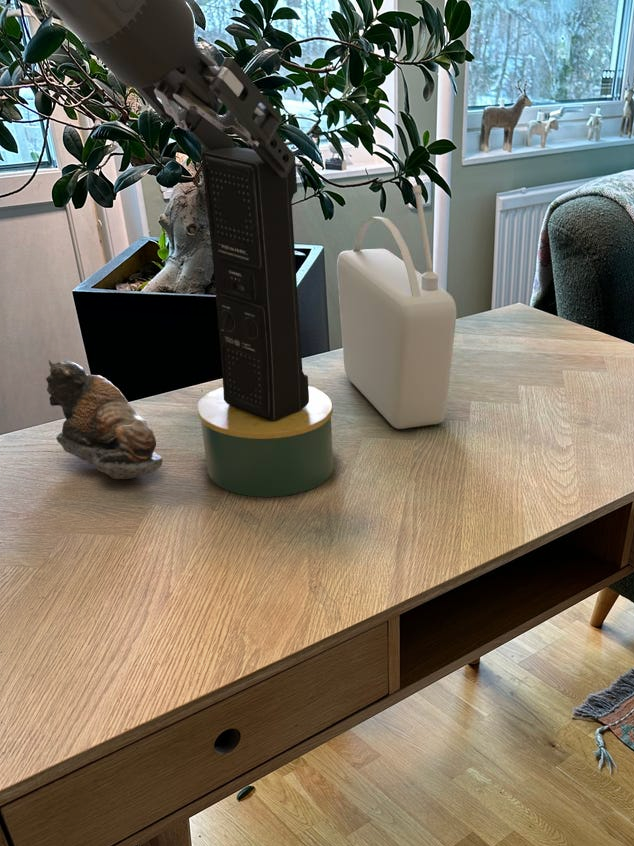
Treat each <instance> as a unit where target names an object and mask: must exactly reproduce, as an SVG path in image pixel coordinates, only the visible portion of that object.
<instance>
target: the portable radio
mask: <svg viewBox="0 0 634 846" xmlns="http://www.w3.org/2000/svg"><path fill="white" fill-rule="evenodd" d="M201 164H202V172H203V182H204V190H205V192H204V193H205V200H206V209H207V210H206V211H207V219H208V220H207V221H208V229H209V238H210V239H209V240H210V246H211V257H212V265H213V275H214V286H215V303H216V314H217V315H216V316H217V326H218V336H219V347H220V348H219V349H220V359H221V371H222V387H223V394H224V401H225V402H226V403H227V404H228V405H231V406H234V407H236V408H239V409H241V410H244V411H246V412H249V413H251V414H254V415H257V416H259V417H262V418H264V419H267V420H269V421H276V420H278V419H281V418H283V417H285V416H288V415H290V414H292V413H295V412H297V411H299V410H301V409H302V408H304V407H305V406H306V405H307V404H308V403H309V388H308V386H309V376H308V375H306V374H305V373H304V371H303V358H302V357H303V356H302V346H301V328H300V314H299V313H300V310H299V297H298V295H299V294H298V280H297V279H298V278H297V265H296V249H295V234H294V233H295V232H294V231H295V230H294V216H293V205H292V203H293V202H292V201H293V198H294V196H295V194H296V193H298V179H297V162H296V161H295V163H294V165H293V166H292V168H291V170H290V171H289V173H288V175H287V176H286V177H285V178H281V177H278V176H276V175H275V174H274V173H273V172H272V171H271V169H270V168H269V167H268V166H267V165H266V164H265V163H264V161H263V160H262V159H261V158H260V157H259V156H258V154H257V153H256V152H255V151H254V150H253V149H252V148H247V147H246V148H245V147H232V148H224V149H216V150H208V151H207V150H202V151H201Z"/></svg>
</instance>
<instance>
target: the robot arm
mask: <svg viewBox="0 0 634 846" xmlns="http://www.w3.org/2000/svg"><path fill="white" fill-rule="evenodd" d="M44 1H45V3H46V4H47V5H48V6H49V7H50V9H51V10H52V11H53V12H54V13H55V14H56V16H57V17H59V19H60V20H61V21H62V22H63V23H64V24H65V25H66V26H67V27H68V28H69V29H70V30H71V31H72V32H73V33H74V34H75V35H76V37H78V38H79V39H80V40H81V41H82V42H83V44H84V45H86V47H87V48H88V49H89V50H90V51H91V52H92V53H93V54H94V55H95V56H96V57H97V58H98V59H99V61H101V63H103V65H104V66H105V67H106V68H107V69H108V70H109V71H110V72H111V73H112V74H113V76H115V77H116V78H117V79H118V80H119V81H120V82H121V83H122V84H123V85H125V86H126V87H128V88H132V89H135V91H136V92H137V93H138V94H139V95H140V96H141V97H142V98H143V99H144V100H145V102H146V103H147V104H148V105H149V106H150V107H151V108H152V109H153V110H154V111H155V112H156V114H157V115H158V116H159V117H160V118H161V119H162V120H163V121H166V122H167V123H171V121H172V120H174V122H175V124H176V125H177V126H178V128H180V129H181V130H183V131H186V132H187V131H188V132H189V133H190V134H191V136H193V137H194V139H196V140H197V142H198V143H199V144H200V145H201V146H202V147H203V148H204V149H205V151H208V150H216V149H224V148H234V141H233V139H232V137H231V136H230V135H229V134H228V133H233V134H235V135H236V136H237V137H238V138H239V139H240V140H242V141H244V142H245V144H247V145H248V146H249V147H250V148H251V149H252V150H254V151H255V152H256V153H257V154H258V156H259V157H260V158H261V159H262V160H263V161H264V163H265V164H266V165H267V166H268V167H269V168H270V169H271V171H272V172H273V173H274V174H275V175H276V176H278V177H281V178H285V177H286V176H287V175H288V173H289V171H290V170H291V168H292V166H293V165H294V163H295V162H296V156H295V153H294V152H293V151H292V150H291V149H290V148H289V146H288V145H287V143H286V142H285V141H284V140H283V139H282V138H281V136H280V135H279V134H278V133H277V131H276V130H278V127H279V126H280V124H281V122H282V120H283V117H282V116H281V114H280V113H279V112H278V110H277V109H276V108H275V107H274V106H273V105H272V103H271V102H270V101H269V100H268V99H267V97H266V96H265V95H264V93H262V92H261V90H260V89H259V88H258V87H257V85H255V83H254V82H253V81H252V79H251V78H250V77H249V76H248V75H247V73H245V71H244V70H243V69H242V67H241V66H240V65H239V63H237V61H235V60H234V59H232V58H231V57H229V56H226V57H225V58H224V60H223V62H222V63H221V65H220V66H219V65H218V62H216V60H215V59H213V58H212V57H210V56H209V55H208V54H207V53H206V52H204V51H202V50H200V49H199V48H197V46H196V41H195V29H196V22H195V21H196V20H195V19H196V18H195V15H194V12H193V10H192V8H191V6H190V5H189V4H188V2H187V1H186V0H44ZM223 105H224V106H225V107H226V108H227V111H226V112H225V114H222V115H221V114H218V113H219V112H220V111H221V109H222V107H223Z"/></svg>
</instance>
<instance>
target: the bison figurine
mask: <svg viewBox="0 0 634 846" xmlns="http://www.w3.org/2000/svg"><path fill="white" fill-rule="evenodd" d="M48 365H49V367H50V369H49V373H50V374H49V375H48V376H47V377H46V378H45V380H46V382H47V388H46V392H47V393H48V394H49V395H50V397H49V398H48V399H49V404H50V406H51V407H55V406H59V407H61V409H62V413H63V416H64V418H65V420H64V421H63V423H62V430H61V432H60V433H58V434H57V435H56V441H57V443H58V444H60V445H61V447H62V449H63V450H64V452H66V453H68V454H70V455H73V456H75V457H77V458H79V459H80V460H83V461H85V462H87V463H88V464H89V465H92V466H95V468H96V470H97V471H98V472H101V473H104V474H106V475H108V476H109V477H110V478H112V479H116V480H128V479H129V480H130V479H133V478H138V477H139V478H140V477H141V476H145V475H148V474H151V473H154V472H156V471H157V470H159V469H160V468H161V467H162V465H163V461H164V459H163V457H162V456H161V455H159V454H157V453H156V452H155V449H156V447H157V440H156V436H155V434H154V431H153V430H152V428H151V427H150V425H149V424H148V422H147V421H146V420H145V419H144V418H143V417H141V416H140V414H138V412H137V411H136V409H135V408H134V406H132V405H131V404H130V402H129V400H128V399H127V398H126V396H125V395H124V394H123V393H122V391H121V390H120V389H119V388H118V387H117V386H116V385H114V384H113V383H112V382H111V381H110V380H108V379H107V378H106V377H103V376H102V375H100V374H87V373H86V370H85V369H84V367H82V366H81V365H79V364H77V362H73V361H70V360H62V361H58V362H53V361H52V360H51V359H48Z"/></svg>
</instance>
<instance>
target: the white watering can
mask: <svg viewBox="0 0 634 846" xmlns="http://www.w3.org/2000/svg"><path fill="white" fill-rule="evenodd" d="M412 191H413V194H414V196H415V197H414V198H415V202H416V209H417V213H418V214H417V215H418V220H419V227H420V232H421V233H420V234H421V239H422V244H423V250H424V256H425V257H424V258H425V262H426V263H425V264H426V268H427V270H426V271H425V272H424V273H420V272H419V271H418V270H416V269H415V265H414V263H413V259H412V257H411V254H410V250H409V247H408V245H407V243H406V242H405V239H404V238H403V236H402V234H401V232H400V230H399V228H398V227H396V225H394V223H393V222H392V221H391V220H390V219H389V218H387V217H382V216H370V217H369V218H368V219H366V220H364V221H363V222H362V224H361V226H360V227H359V229H358V231H357V233H356V235H355V239H354V244H353V247H352V249H350V250H343V251H341V252H340V253H339V255H338V256H337V261H336V273H337V287H338V301H339V312H340V313H339V314H340V329H341V341H342V354H343V368H344V372H345V373H344V374H345V376H346V378H347V379H348V380H349V381H350V382H351V383H352V384H353V385H354V386H355V388H356V389H357V390H358V391H359V392H360V393H361V394H362V395H363V396H364V397H365V398H366V399H367V401H369V402H370V404H371V405H372V406H373V407H374V408H375V409H376V410H377V411H378V412H379V413H380V414H381V415H382V417H383V418H384V419H385V420H386V421H387V422H388V423H389V424H390V425H391V426H392V427H393V428H395V429H397V430H404V429H411V428H417V427H425V426H432V425H438V424H441V423H442V422H443V421H444V420H445V419H446V416H447V415H446V414H447V406H448V397H449V388H450V387H449V386H450V380H451V378H450V377H451V370H452V361H453V352H454V351H453V350H454V342H455V341H454V340H455V331H456V325H457V324H456V323H457V305H456V302H455V299H454V298H453V296H452V295H451V294H450V293H449V292H448V291H446V290H444V289H443V288H442V287H440V286H439V276H438V274H436V273H435V272H434V267H433V261H432V254H431V249H430V242H429V237H428V230H427V224H426V218H425V212H424V205H423V200H422V193H423V192H422V186H421V185H420V184H417V185H413V186H412ZM374 221H380V222H381V223H382V224H383V225H384V226H385V227H386V228H387V229H388V230H389V231H390V233H391V235H392V237H393V239H394V241H395V243H396V245H397V246H398V248H399V252H400V254H401V257H402V258H401V259H400V258H399V257H398V256H396V255H395V254H394V253H393V252H392V251H390V250H388V249H385V248H370V249H369V248H368V249H367V248H366V249H362V245H363V241H364V238H365V235H366V232H367V230H368V229H369V227H370V226H371V224H372V223H373V222H374Z"/></svg>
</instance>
